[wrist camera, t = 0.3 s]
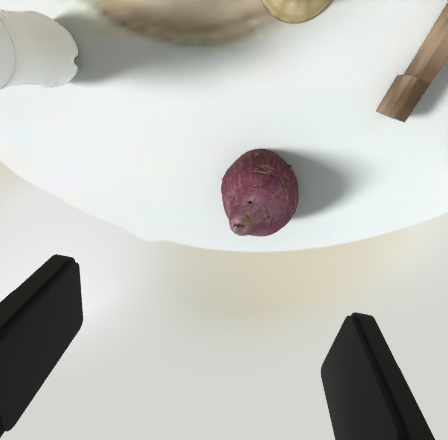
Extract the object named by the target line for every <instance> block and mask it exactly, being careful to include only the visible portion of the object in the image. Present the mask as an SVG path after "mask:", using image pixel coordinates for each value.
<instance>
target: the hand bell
mask: <svg viewBox="0 0 448 440" xmlns="http://www.w3.org/2000/svg"><path fill="white" fill-rule="evenodd" d="M330 1H331V0H262V2H263V4H264V6H265V8H266V9H267V10H268V11H269V13H270V14H271V15H273V16H274V17H275V18H277V19H278V20H280V21H283V22H286V23H302V22H305V21H308V20H310V19H312V18H314V17H315V16H317V15H318V14H319V13H320V12H322V11H323V10H324V9H325V8H326V6H327V5H328V4H329V2H330Z"/></svg>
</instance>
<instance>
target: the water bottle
mask: <svg viewBox="0 0 448 440" xmlns="http://www.w3.org/2000/svg"><path fill="white" fill-rule="evenodd" d="M77 55H78V47H77V45H76V43H75V41H74V39H73V37H72V36H71V34H70V33H69V32H68V31H67V30H66V29H65V28H64V27H63V26H61V25H60V24H58V23H57V22H55V21H54V20H53V19H51V18H50V17H48V16H46V15H44V14H41V13H38V12H33V11H5V10H0V89H3V88H5V87H8V86H12V85H20V84H32V85H37V86H40V87H44V88H52V87H58V86H61V85H64V84H66V83H67V82H69V81H70V80H71V79H72V78H73V77H74V76H75V74H76V73H77V69H78V66H77V65H76V64H75V63H74V58H75V57H77Z"/></svg>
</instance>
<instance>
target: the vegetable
mask: <svg viewBox="0 0 448 440" xmlns="http://www.w3.org/2000/svg"><path fill="white" fill-rule="evenodd" d="M221 192H222V199H223V205H224V209H225V212H226V215H227V217H228V219H229V220H230V221H229V224H230V228H231V230H232V231H233V232H234V233H235V234H237V235H240V236H245V235H252V236H267V235H271V234H273V233H275V232H277V231H279V230H280V229H281V228H282V227H284V226H285V225H286V224H287V223H288V222H289V221H290V219H291V218H292V216H293V215H294V213H295V210H296V207H297V203H298V185H297V180H296V177H295V175H294V173H293V171H292V169H291V166H290V165H288V164H286V162H284V160H282V159H281V158H280V157H279V156H277V155H276V154H274V153H273V152H271V151H267V150H264V149H254V150H251V151H248V152H246V153H245V154H243V155H242V156H241V157H240V158H238V159H237V160H236V161H235V162H234V163H233V164H232V165H231V167H230V168H229V169H228V170H227V171H226V173H225V175H224V177H223V179H222V186H221Z"/></svg>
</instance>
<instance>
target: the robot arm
mask: <svg viewBox="0 0 448 440" xmlns="http://www.w3.org/2000/svg"><path fill="white" fill-rule="evenodd" d="M82 322H83V311H82V298H81V284H80V271H79V264H78V263H76V262H75V260H74V258H72V257H68V256H62V255H57V254H56V255H53V256H52V257H51V258H50V259H49V260H48V261H46V262H45V263H44V264H43V265H42V266H41V267H40V268H39V269H38V270H37V271H35V272H34V273H33V274H32V275H31V276H30V277H29V278H28V279H27V280H26V281H24V283H22V284H21V285H20V286H19V287H18V288H17V289H16V290H14V291H13V292H11V293H10V294H9V295H8V296H7V297H6V298H5V299H4V300H2V301H1V302H0V437H1V436H2V434H3V433H4V432H5V431H9V430H11V429H12V428H13V427H14V425H15V424H16V423H17V421H18V420H19V418H20V417H21V415H22V414H23V412H24V411H25V409H26V408H27V406H28V405H29V404H30V402H31V401H32V399H33V398H34V396H35V395H36V393H37V392H38V390H39V389H40V387H41V386H42V384H43V383H44V381H45V380H46V378H47V377H48V375H49V374H50V372H51V371H52V369H53V368H54V366H55V365H56V364H57V362H58V361H59V359H60V358H61V356H62V354H63V353H64V352H65V350H66V349H67V347H68V346H69V344H70V343H71V341H72V340H73V339H74V337H75V335H76V334H77V332H78V331H79V330H80V328H81V325H82ZM321 378H322V382H323V386H324V391H325V395H326V400H327V404H328V409H329V413H330V418H331V422H332V427H333V431H334V436H335V440H435V439H434V437H433V435H432V433H431V430H430V429H429V426H428V424H427V422H426V421H425V418H424V416H423V414H422V412H421V410H420V409H419V406H418V404H417V402H416V400H415V398H414V396H413V394H412V392H411V390H410V388H409V386H408V384H407V382H406V380H405V378H404V376H403V374H402V372H401V370H400V368H399V367H398V365H397V363H396V361H395V359H394V357H393V355H392V353H391V351H390V349H389V347H388V345H387V343H386V341H385V339H384V337H383V335H382V333H381V331H380V329H379V327H378V325H377V323H376V321H375V319H374V317H373V316H371V315H366V314H361V313H353V314H352V315H351V316H347V317H346V319H345V320H344V322H343V324H342V326H341V329H340V330H339V333H338V334H337V336H336V338H335V341H334V342H333V345H332V346H331V348H330V350H329V353H328V354H327V356H326V358H325V360H324V363H323V364H322V367H321Z"/></svg>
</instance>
